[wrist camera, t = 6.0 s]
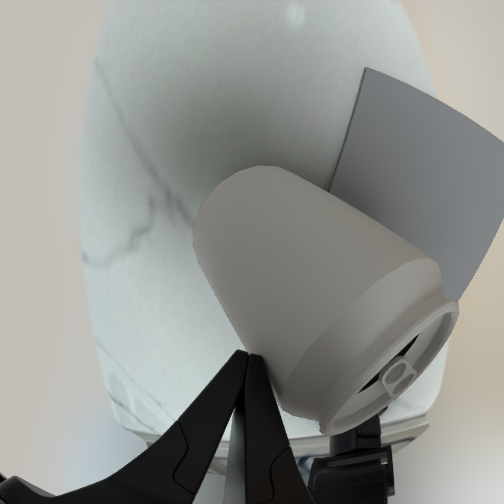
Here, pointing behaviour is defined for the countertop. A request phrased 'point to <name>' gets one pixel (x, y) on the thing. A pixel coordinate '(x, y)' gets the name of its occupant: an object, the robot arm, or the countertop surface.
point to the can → (321, 295)
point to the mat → (423, 175)
